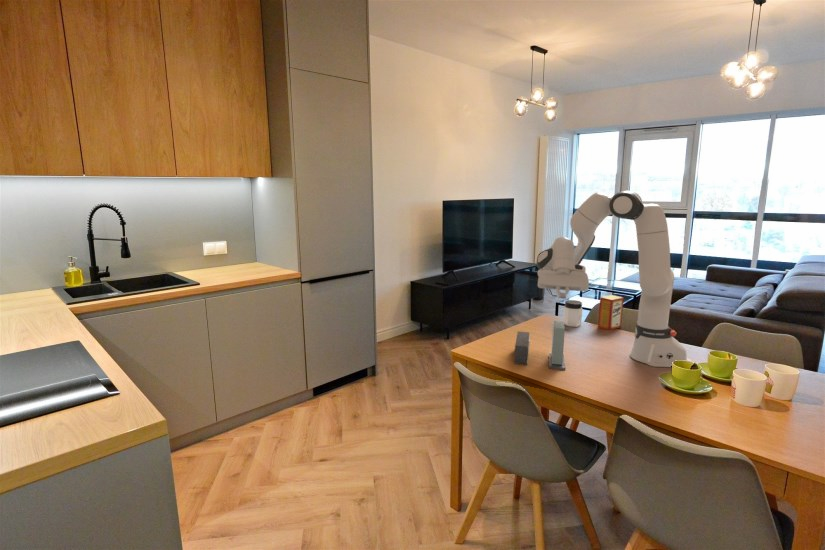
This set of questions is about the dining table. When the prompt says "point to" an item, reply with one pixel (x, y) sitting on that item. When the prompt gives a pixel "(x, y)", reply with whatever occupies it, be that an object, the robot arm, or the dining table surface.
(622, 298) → the baking soda box
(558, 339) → the block
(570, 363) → the dining table surface
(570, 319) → the jar
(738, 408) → the dining table surface
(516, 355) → the block
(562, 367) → the rail
